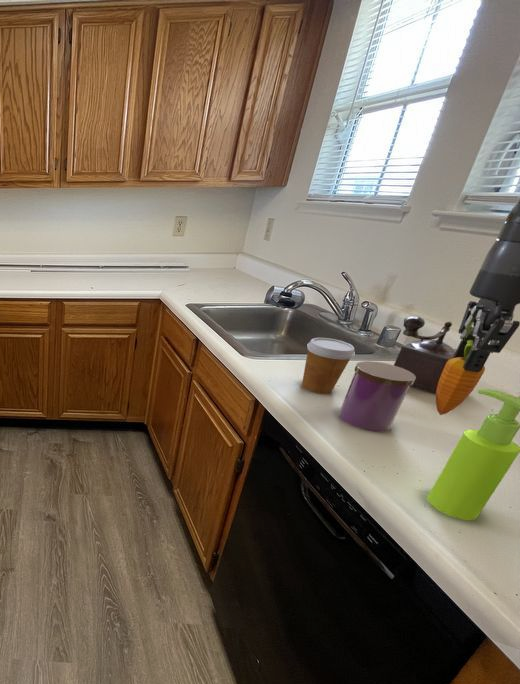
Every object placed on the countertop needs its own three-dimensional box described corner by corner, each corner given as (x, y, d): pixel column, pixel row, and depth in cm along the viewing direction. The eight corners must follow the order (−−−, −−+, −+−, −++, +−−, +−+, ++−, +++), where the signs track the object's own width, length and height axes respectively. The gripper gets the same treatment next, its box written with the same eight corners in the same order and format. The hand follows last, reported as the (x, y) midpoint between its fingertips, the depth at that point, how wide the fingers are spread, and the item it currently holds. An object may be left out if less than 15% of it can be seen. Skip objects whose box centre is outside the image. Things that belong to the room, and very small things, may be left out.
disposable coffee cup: (298, 376, 110) (312, 334, 105) (341, 388, 105) (358, 343, 99) (290, 389, 104) (305, 344, 99) (336, 401, 98) (354, 355, 93)
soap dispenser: (439, 489, 71) (499, 385, 62) (486, 519, 65) (560, 408, 56) (410, 492, 70) (467, 387, 61) (456, 523, 64) (526, 411, 55)
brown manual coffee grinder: (401, 370, 115) (429, 306, 107) (453, 386, 106) (488, 318, 98) (373, 382, 108) (402, 315, 100) (427, 400, 99) (462, 329, 91)
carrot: (425, 405, 83) (459, 334, 76) (460, 414, 79) (499, 341, 73) (421, 414, 80) (457, 340, 73) (457, 424, 76) (497, 348, 70)
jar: (386, 417, 92) (409, 367, 87) (395, 438, 85) (421, 385, 79) (334, 406, 96) (353, 357, 91) (339, 425, 89) (359, 374, 84)
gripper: (571, 281, 60) (511, 385, 68) (526, 264, 72) (479, 356, 79) (499, 275, 64) (450, 375, 71) (467, 260, 75) (427, 348, 82)
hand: (465, 364), depth 75 cm, fingers closed on carrot, 4 cm apart
